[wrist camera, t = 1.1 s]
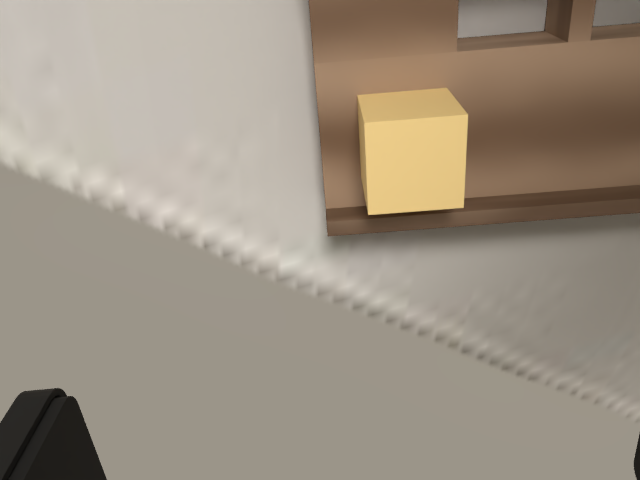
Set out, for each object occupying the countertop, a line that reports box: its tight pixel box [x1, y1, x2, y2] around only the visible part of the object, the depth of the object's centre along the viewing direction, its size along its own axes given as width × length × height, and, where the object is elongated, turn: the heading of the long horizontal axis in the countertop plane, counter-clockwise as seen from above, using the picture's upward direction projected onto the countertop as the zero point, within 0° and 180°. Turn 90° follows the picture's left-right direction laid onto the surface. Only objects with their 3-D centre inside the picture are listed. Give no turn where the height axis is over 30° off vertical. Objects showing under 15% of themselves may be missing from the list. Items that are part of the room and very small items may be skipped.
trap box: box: [309, 0, 640, 236], centre depth 27 cm, size 14×23×4 cm, turn 95°
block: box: [357, 88, 468, 215], centre depth 26 cm, size 4×4×4 cm
